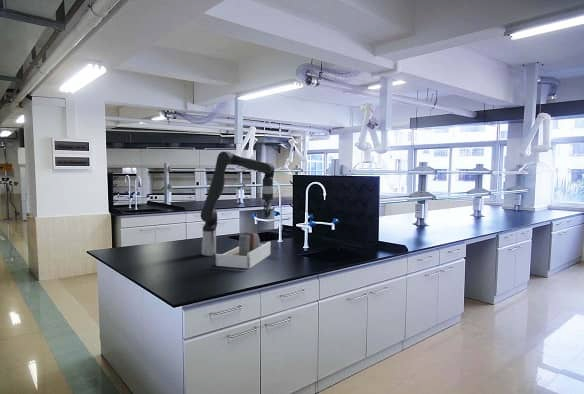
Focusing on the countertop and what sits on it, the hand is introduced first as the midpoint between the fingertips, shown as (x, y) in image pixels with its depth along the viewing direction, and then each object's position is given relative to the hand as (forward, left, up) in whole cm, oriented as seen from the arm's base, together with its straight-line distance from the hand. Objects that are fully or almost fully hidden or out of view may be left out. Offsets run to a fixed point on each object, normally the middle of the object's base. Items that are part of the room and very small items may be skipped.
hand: (267, 216), depth 250 cm
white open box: (-12, -10, -29) cm, 33 cm away
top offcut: (-17, -10, -26) cm, 33 cm away
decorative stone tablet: (-9, -10, -29) cm, 32 cm away
